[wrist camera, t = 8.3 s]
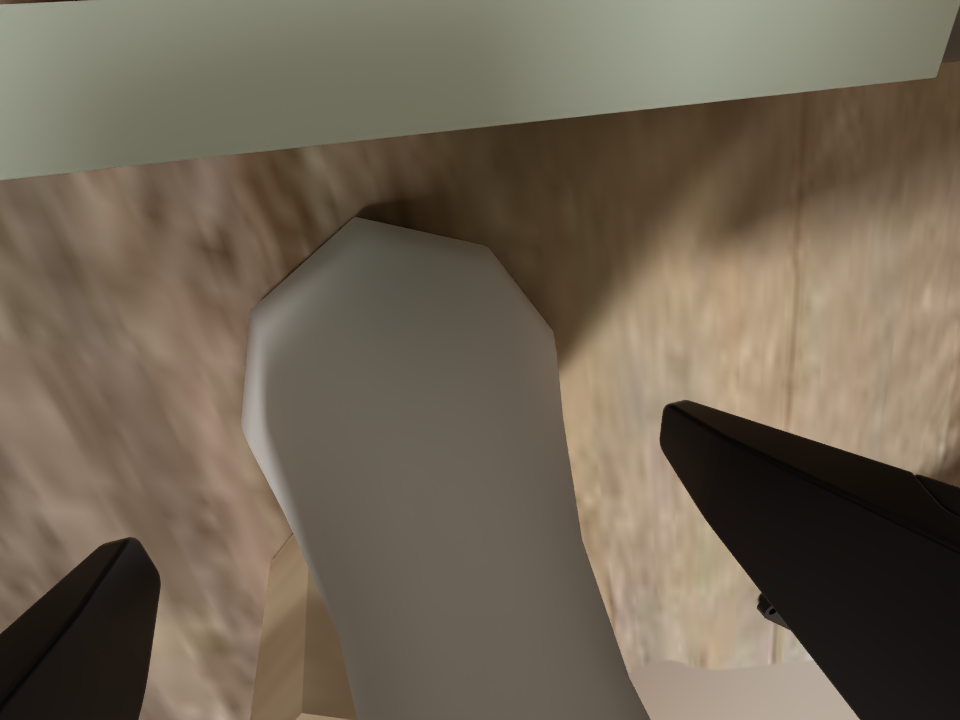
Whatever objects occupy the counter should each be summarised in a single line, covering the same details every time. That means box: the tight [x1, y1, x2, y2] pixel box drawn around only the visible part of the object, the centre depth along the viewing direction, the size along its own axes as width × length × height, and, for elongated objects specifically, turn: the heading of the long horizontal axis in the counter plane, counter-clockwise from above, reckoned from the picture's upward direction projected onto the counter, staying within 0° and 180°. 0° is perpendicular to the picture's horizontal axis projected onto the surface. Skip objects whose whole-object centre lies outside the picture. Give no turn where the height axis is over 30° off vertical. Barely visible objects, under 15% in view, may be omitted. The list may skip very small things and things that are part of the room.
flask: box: [241, 217, 650, 720], centre depth 7 cm, size 7×7×10 cm
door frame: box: [250, 5, 960, 720], centre depth 10 cm, size 2×19×5 cm, turn 139°
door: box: [0, 0, 960, 180], centre depth 6 cm, size 2×13×5 cm, turn 94°
